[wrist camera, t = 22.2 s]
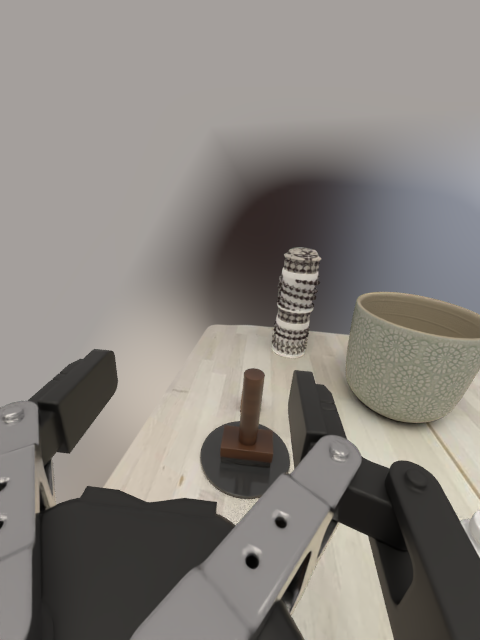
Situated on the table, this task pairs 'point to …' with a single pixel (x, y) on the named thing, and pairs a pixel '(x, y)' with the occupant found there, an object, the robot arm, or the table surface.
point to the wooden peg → (248, 428)
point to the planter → (411, 355)
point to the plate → (241, 467)
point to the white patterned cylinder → (295, 302)
